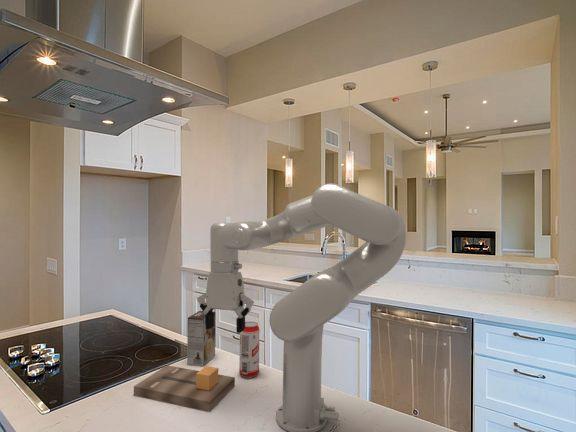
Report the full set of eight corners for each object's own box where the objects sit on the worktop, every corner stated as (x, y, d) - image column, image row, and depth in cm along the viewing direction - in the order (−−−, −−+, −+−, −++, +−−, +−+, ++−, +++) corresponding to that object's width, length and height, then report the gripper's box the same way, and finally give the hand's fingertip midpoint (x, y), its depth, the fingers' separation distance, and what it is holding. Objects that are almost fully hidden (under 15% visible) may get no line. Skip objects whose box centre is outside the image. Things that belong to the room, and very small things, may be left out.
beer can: (235, 377, 103) (236, 325, 103) (244, 368, 109) (245, 320, 109) (254, 380, 101) (254, 328, 101) (262, 371, 107) (262, 322, 107)
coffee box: (199, 354, 120) (199, 310, 120) (215, 355, 118) (216, 311, 119) (186, 365, 111) (187, 317, 111) (203, 367, 109) (204, 318, 110)
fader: (218, 382, 94) (218, 368, 94) (208, 390, 89) (209, 375, 89) (205, 379, 95) (206, 365, 95) (196, 388, 90) (196, 373, 90)
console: (234, 385, 97) (234, 377, 97) (209, 411, 84) (209, 401, 84) (166, 373, 105) (166, 364, 105) (133, 395, 91) (133, 385, 91)
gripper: (258, 266, 91) (259, 328, 91) (206, 264, 97) (206, 322, 97) (245, 270, 84) (246, 337, 84) (190, 268, 90) (190, 330, 90)
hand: (224, 329), depth 91 cm, fingers open, 9 cm apart
